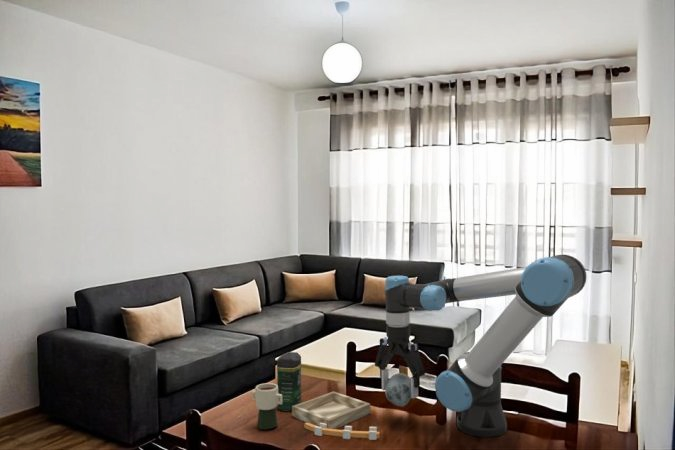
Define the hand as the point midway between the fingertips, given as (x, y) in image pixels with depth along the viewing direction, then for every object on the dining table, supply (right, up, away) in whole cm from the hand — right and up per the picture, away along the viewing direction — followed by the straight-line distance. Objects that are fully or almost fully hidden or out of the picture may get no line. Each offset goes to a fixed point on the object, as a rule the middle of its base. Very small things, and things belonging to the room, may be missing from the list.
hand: (399, 393), depth 171 cm
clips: (-17, -10, -8) cm, 21 cm away
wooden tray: (-22, -10, +7) cm, 25 cm away
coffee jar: (-37, -10, +15) cm, 41 cm away
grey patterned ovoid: (0, -3, 0) cm, 3 cm away
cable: (-18, -10, -6) cm, 22 cm away
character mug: (-42, -10, -2) cm, 43 cm away
